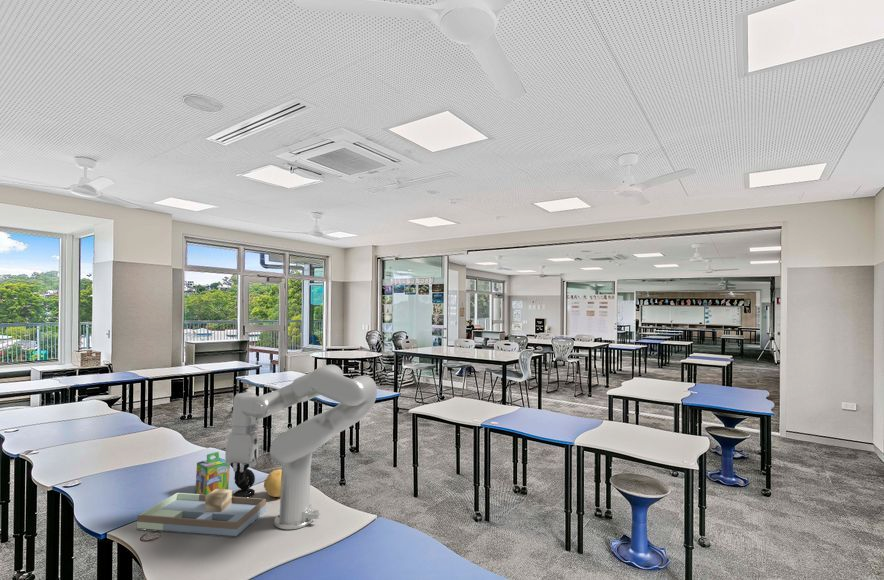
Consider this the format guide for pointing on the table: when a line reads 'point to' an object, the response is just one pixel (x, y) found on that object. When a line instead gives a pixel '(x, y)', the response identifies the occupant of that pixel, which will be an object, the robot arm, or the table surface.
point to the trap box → (201, 516)
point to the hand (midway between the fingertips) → (239, 482)
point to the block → (218, 500)
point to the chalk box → (212, 474)
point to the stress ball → (273, 483)
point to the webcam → (246, 485)
